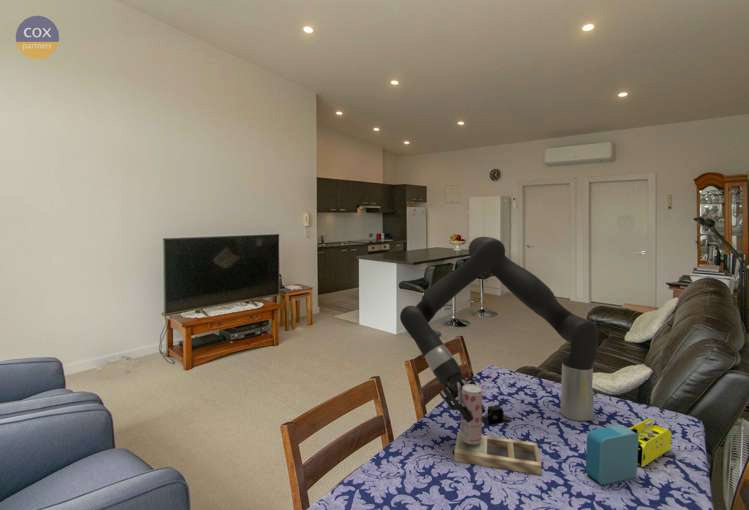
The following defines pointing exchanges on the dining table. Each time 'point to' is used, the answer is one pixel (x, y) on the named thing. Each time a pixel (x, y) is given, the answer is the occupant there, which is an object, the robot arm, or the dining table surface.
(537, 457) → the board
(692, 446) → the dining table surface
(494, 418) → the black open box
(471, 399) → the beverage can
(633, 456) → the data package
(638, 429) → the yellow toy chassis
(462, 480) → the dining table surface
